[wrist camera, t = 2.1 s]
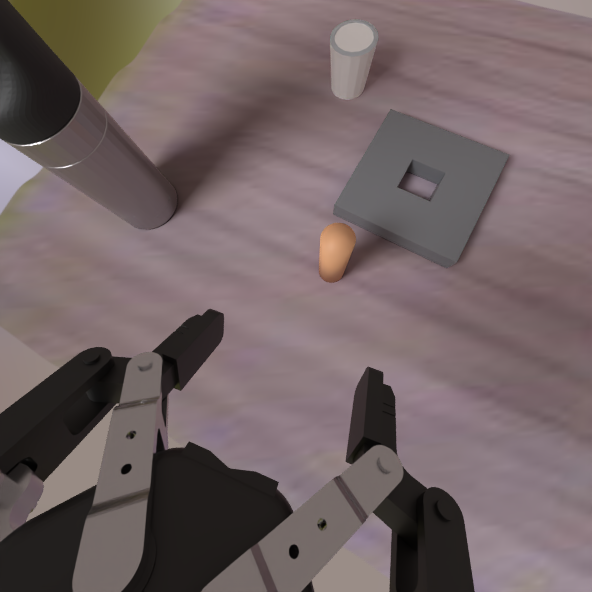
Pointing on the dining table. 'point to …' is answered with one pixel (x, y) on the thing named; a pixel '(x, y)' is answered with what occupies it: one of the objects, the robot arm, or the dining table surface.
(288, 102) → the dining table surface
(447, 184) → the peg board
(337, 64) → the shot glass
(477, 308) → the dining table surface
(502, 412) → the dining table surface
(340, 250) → the peg
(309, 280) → the dining table surface
